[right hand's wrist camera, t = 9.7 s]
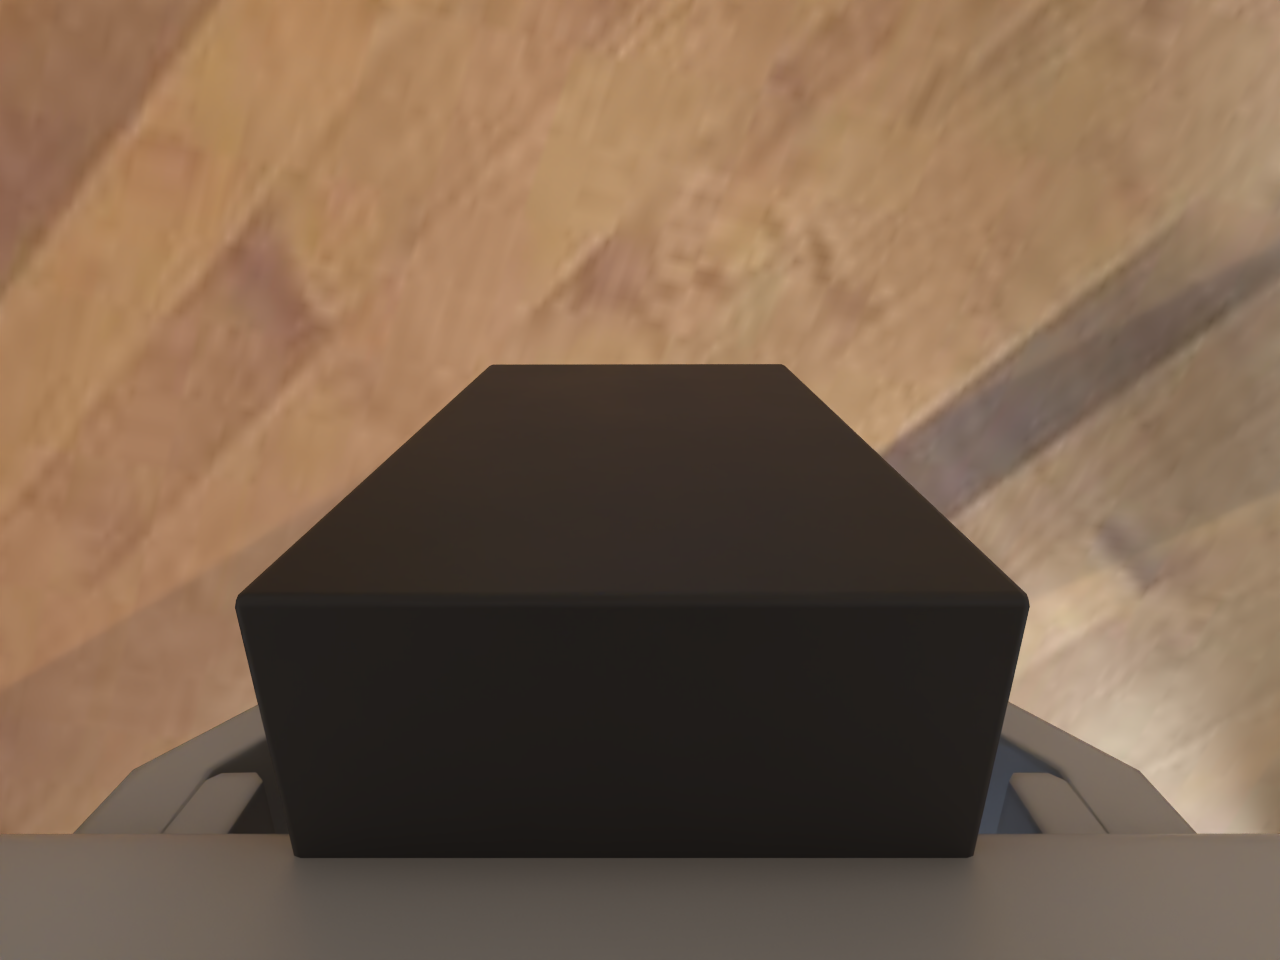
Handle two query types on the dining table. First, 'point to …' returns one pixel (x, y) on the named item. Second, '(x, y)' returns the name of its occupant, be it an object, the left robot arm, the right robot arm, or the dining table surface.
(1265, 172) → the dining table surface
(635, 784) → the bar
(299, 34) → the dining table surface
